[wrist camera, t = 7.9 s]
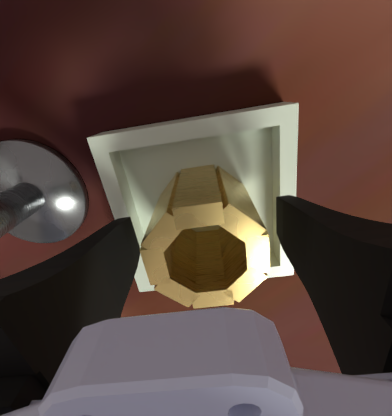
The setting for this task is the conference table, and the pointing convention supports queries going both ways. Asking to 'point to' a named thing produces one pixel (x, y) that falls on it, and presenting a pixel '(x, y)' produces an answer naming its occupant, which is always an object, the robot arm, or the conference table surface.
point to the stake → (39, 192)
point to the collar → (205, 240)
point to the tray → (201, 156)
